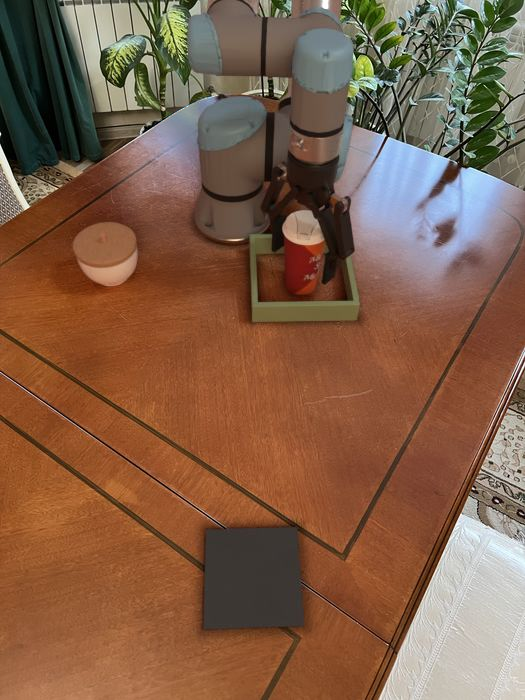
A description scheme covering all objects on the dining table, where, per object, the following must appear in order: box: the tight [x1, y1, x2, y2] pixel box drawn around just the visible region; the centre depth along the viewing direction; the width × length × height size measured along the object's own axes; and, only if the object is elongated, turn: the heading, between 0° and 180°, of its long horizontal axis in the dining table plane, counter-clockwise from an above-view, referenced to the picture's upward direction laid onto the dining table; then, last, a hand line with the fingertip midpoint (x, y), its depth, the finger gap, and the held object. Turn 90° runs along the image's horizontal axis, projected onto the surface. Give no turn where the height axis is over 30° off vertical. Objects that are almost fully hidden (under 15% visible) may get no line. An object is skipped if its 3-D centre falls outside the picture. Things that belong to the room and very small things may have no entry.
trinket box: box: [72, 221, 139, 287], centre depth 100 cm, size 11×11×9 cm
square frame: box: [249, 233, 361, 323], centre depth 102 cm, size 18×18×4 cm
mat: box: [202, 526, 305, 631], centre depth 72 cm, size 12×12×1 cm
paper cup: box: [282, 209, 325, 296], centre depth 98 cm, size 8×8×14 cm
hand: (302, 263), depth 100 cm, fingers open, 11 cm apart
